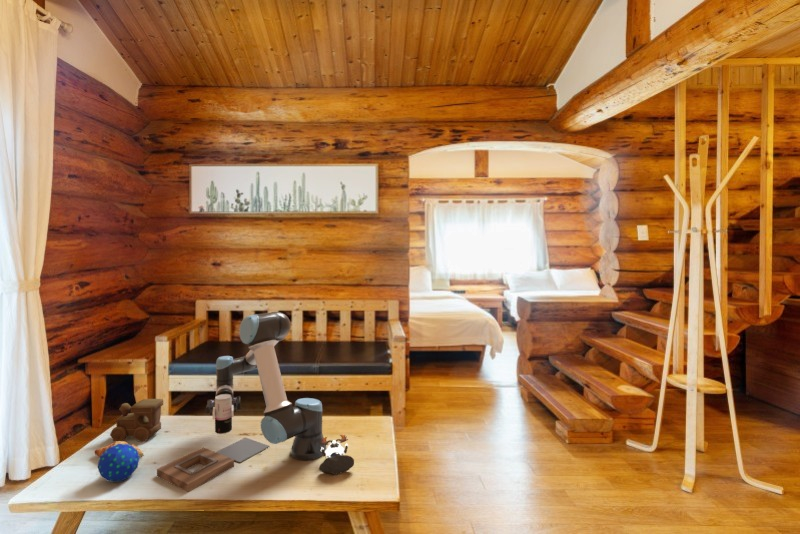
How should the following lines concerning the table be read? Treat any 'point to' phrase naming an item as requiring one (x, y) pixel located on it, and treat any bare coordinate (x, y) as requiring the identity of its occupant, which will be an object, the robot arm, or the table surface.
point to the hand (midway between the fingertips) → (223, 414)
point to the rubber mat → (242, 449)
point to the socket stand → (190, 480)
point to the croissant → (103, 449)
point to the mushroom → (118, 462)
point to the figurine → (335, 457)
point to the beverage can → (223, 413)
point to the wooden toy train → (138, 420)
